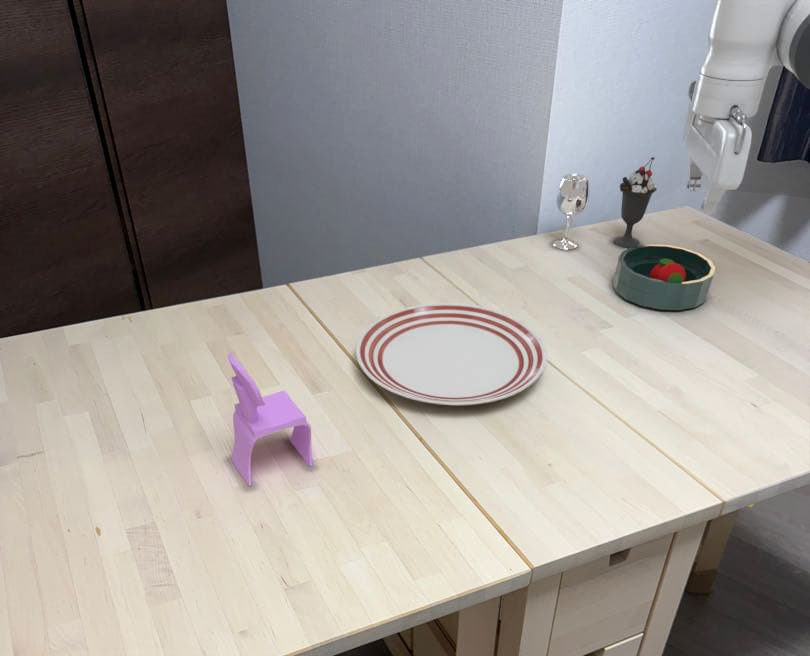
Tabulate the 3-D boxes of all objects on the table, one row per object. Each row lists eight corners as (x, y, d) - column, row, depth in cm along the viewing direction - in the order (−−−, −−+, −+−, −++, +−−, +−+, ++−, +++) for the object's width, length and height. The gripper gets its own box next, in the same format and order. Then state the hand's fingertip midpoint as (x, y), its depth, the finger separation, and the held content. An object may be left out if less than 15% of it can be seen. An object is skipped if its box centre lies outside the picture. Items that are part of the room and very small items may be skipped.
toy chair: (319, 469, 91) (310, 360, 81) (252, 491, 88) (233, 381, 78) (292, 434, 96) (280, 328, 86) (227, 454, 93) (207, 346, 83)
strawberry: (670, 283, 129) (677, 256, 125) (675, 295, 126) (683, 267, 122) (644, 282, 129) (651, 255, 126) (649, 294, 126) (656, 266, 122)
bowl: (694, 273, 133) (702, 245, 130) (716, 314, 122) (726, 285, 118) (606, 270, 133) (612, 243, 130) (621, 311, 122) (627, 282, 119)
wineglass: (566, 253, 139) (577, 185, 130) (543, 243, 142) (552, 177, 134) (586, 245, 141) (598, 179, 133) (563, 236, 145) (574, 170, 136)
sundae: (648, 240, 144) (668, 156, 133) (637, 252, 140) (657, 166, 129) (615, 233, 146) (632, 150, 136) (604, 244, 142) (620, 160, 132)
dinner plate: (557, 420, 99) (561, 399, 97) (352, 419, 99) (351, 398, 97) (531, 322, 119) (533, 302, 117) (360, 321, 119) (359, 301, 116)
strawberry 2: (684, 260, 122) (693, 268, 118) (677, 287, 125) (685, 296, 121) (657, 259, 122) (665, 266, 118) (651, 286, 125) (658, 294, 121)
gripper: (773, 118, 96) (740, 227, 105) (729, 80, 111) (704, 178, 120) (723, 118, 96) (695, 226, 106) (687, 80, 111) (665, 178, 120)
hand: (700, 200), depth 113 cm, fingers open, 8 cm apart
